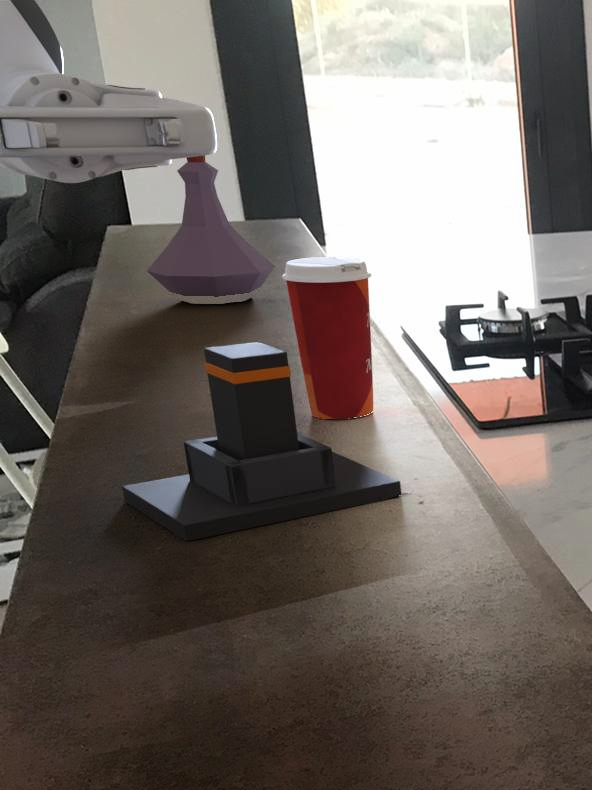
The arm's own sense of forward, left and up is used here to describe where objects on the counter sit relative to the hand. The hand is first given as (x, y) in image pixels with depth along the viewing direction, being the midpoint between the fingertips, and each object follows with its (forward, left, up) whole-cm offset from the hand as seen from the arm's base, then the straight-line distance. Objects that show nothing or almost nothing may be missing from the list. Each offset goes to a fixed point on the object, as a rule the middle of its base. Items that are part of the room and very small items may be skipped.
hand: (114, 134), depth 101 cm
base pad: (+12, -16, -25) cm, 32 cm away
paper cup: (+12, +11, -25) cm, 30 cm away
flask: (-19, +78, -25) cm, 84 cm away
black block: (+12, -16, -24) cm, 31 cm away
